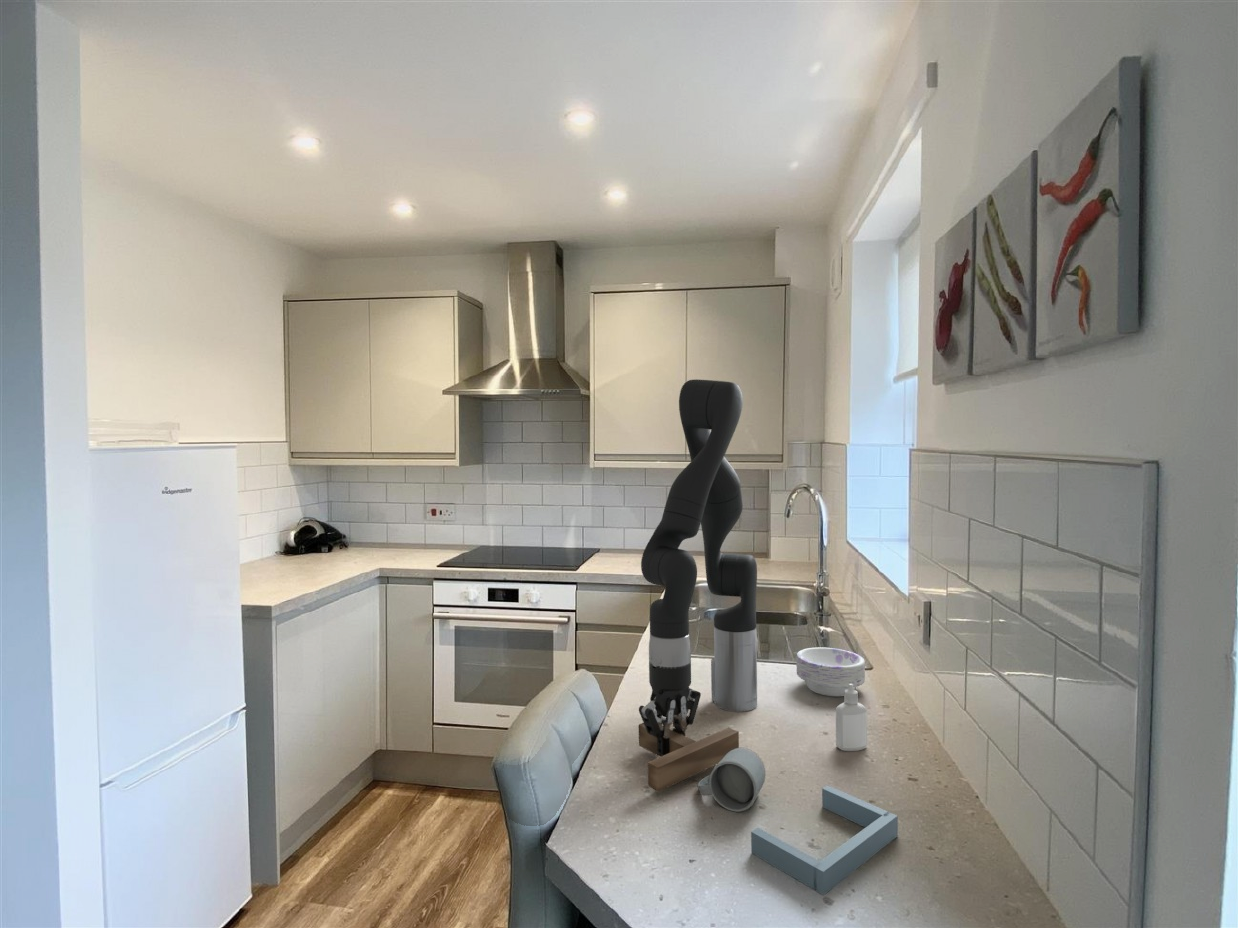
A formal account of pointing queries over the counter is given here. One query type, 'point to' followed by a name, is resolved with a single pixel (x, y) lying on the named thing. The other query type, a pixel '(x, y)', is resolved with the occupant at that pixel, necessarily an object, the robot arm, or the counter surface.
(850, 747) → the eye dropper bottle
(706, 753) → the scraper
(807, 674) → the paper bowls
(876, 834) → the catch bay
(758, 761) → the ceramic mug
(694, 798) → the counter surface
